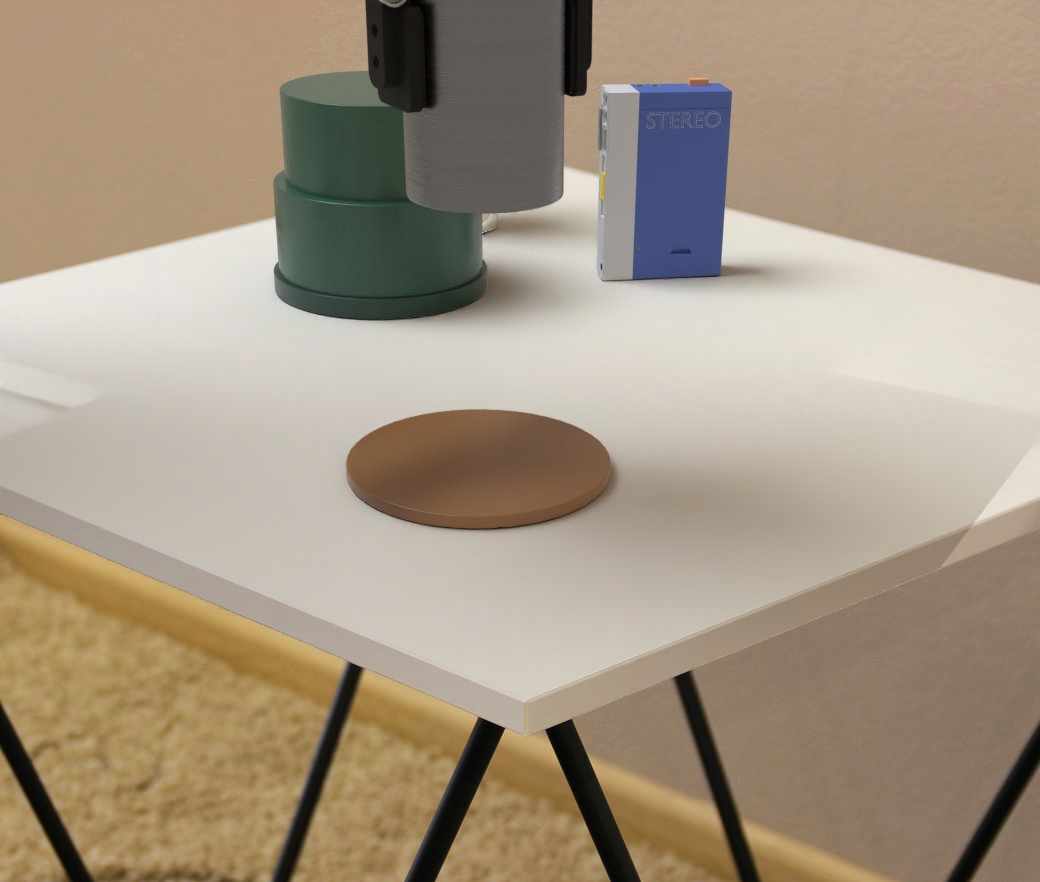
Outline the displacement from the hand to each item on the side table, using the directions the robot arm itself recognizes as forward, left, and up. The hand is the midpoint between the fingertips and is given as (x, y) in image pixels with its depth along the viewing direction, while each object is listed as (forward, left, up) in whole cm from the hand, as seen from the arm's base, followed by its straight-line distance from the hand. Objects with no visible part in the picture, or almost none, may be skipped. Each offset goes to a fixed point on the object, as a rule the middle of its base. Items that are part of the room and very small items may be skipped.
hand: (483, 94), depth 62 cm
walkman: (-7, +32, -17) cm, 37 cm away
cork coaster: (0, 0, -17) cm, 17 cm away
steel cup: (0, 0, -4) cm, 4 cm away
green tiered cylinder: (-20, +20, -17) cm, 33 cm away
